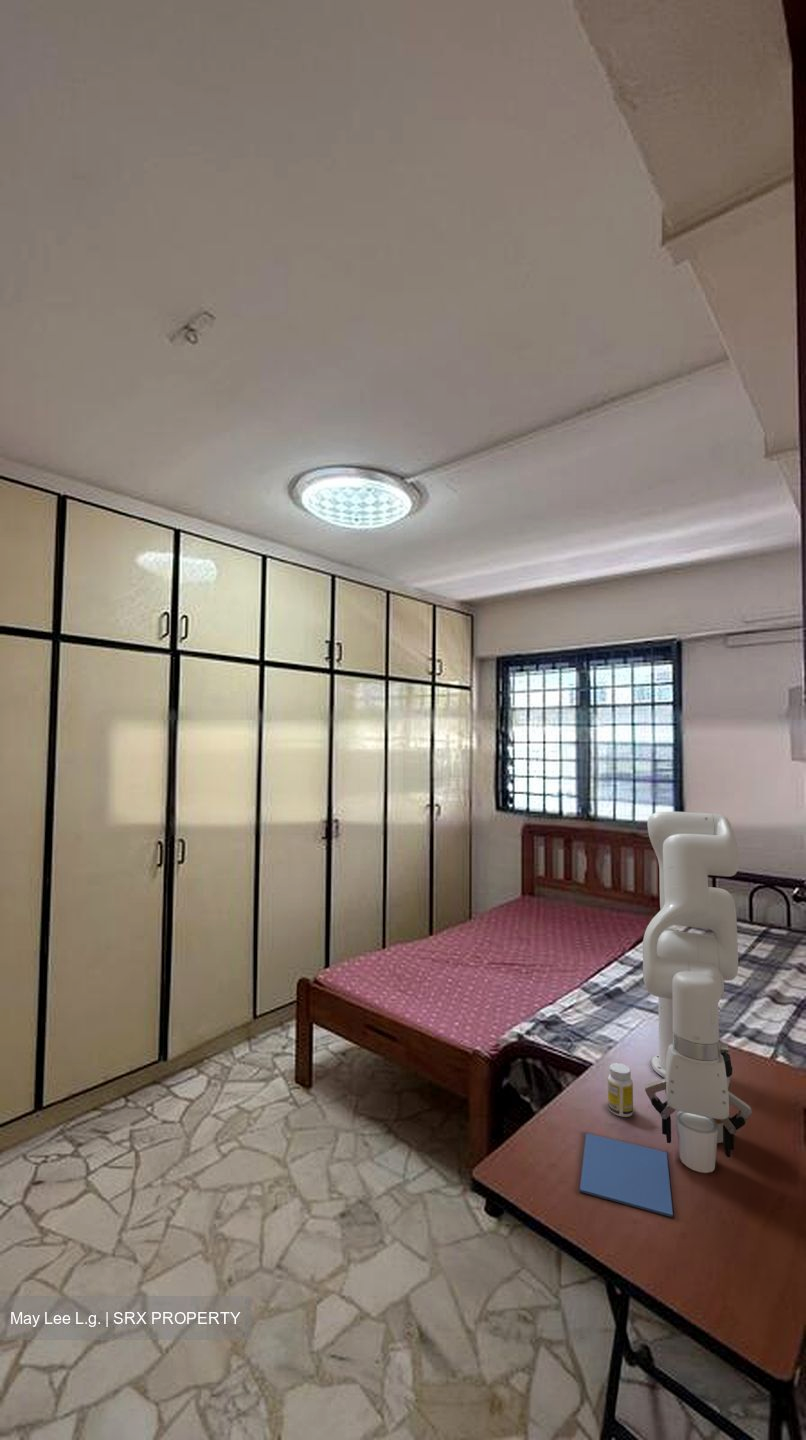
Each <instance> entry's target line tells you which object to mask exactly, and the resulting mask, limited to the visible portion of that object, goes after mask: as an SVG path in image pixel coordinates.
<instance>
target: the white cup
mask: <svg viewBox="0 0 806 1440" xmlns="http://www.w3.org/2000/svg"><path fill="white" fill-rule="evenodd" d="M675 1122H676V1123H675V1124H676V1133H677V1143H678V1152H679V1159H680V1161H681V1162H682V1164H683V1165H685V1166H686V1167H687V1168H689V1169H691V1170H692V1171H695V1172H699V1173H704V1174H708V1173H712V1172H713V1171H715V1170H716V1169H715V1168H716V1158H717V1148H718V1147H717V1146H718V1143H717V1136H718V1125H717V1123H716V1122H715V1121H714V1120H713V1119H712V1118H709V1117H704V1116H700V1115H695V1114H690V1113H686V1112H681V1111H678V1112H677V1113H676V1115H675Z"/></svg>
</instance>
